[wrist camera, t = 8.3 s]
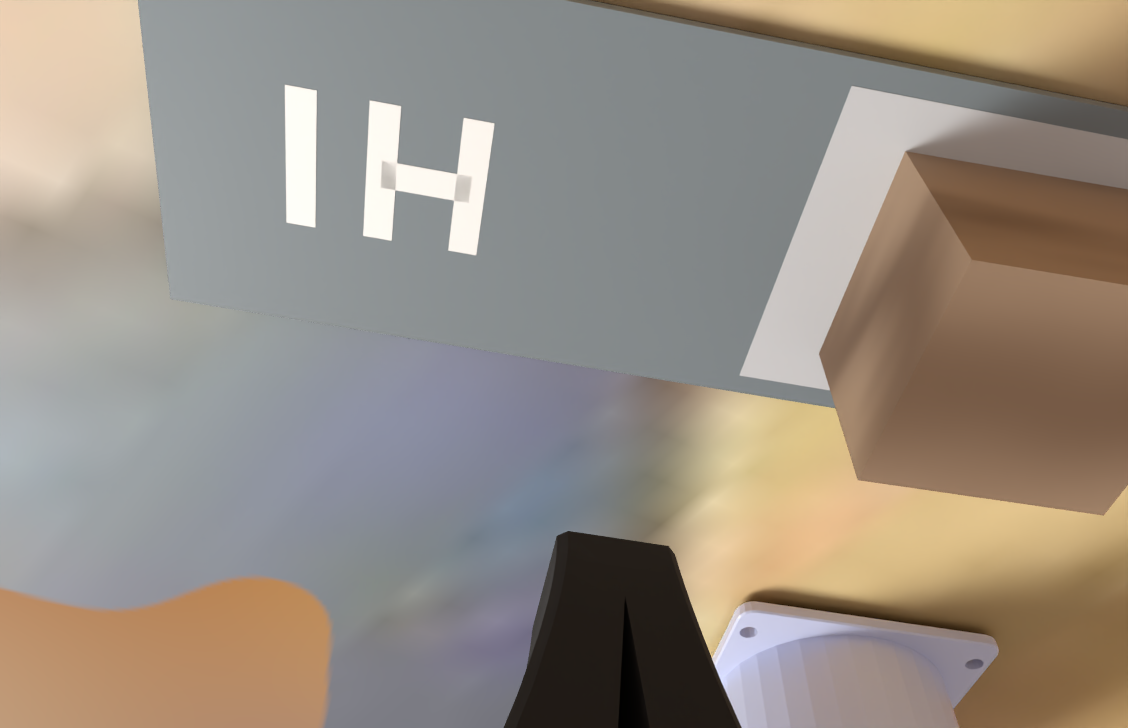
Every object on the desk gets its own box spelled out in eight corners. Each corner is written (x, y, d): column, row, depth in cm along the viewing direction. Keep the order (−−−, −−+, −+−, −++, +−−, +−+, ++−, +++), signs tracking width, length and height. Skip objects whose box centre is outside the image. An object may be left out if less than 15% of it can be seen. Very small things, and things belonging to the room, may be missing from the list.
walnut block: (1027, 386, 21) (1103, 515, 18) (818, 353, 20) (858, 480, 17) (1148, 192, 18) (1266, 308, 15) (905, 150, 17) (971, 259, 14)
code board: (1047, 435, 22) (1052, 443, 22) (175, 291, 20) (170, 299, 20) (1258, 132, 17) (1268, 139, 17) (135, -90, 16) (128, -86, 15)
